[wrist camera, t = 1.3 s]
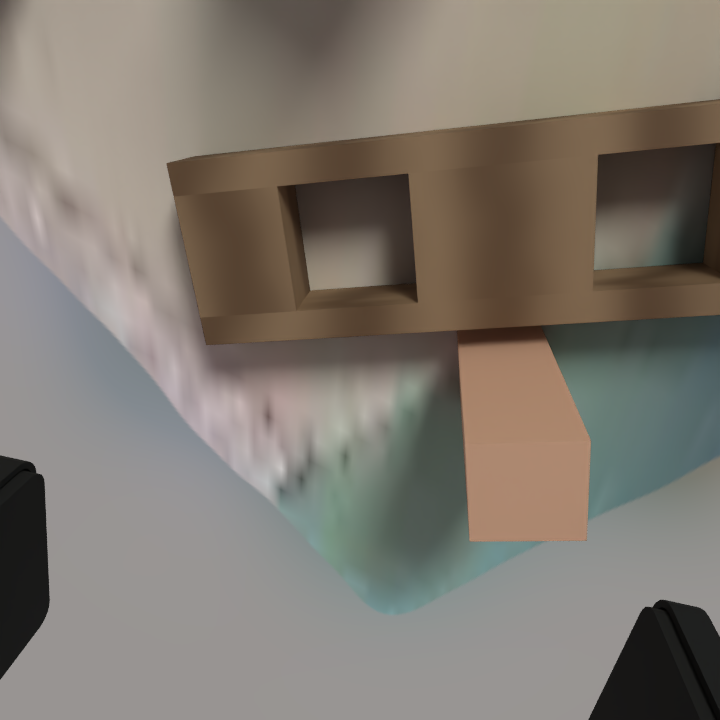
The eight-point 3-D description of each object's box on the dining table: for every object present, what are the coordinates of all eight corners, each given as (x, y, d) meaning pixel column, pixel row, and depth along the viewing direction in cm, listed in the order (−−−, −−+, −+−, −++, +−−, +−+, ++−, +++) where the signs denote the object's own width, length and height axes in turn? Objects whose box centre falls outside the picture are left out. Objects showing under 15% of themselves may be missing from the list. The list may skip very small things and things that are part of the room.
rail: (844, 85, 27) (898, 84, 24) (808, 284, 30) (852, 307, 27) (194, 156, 31) (166, 163, 28) (227, 322, 35) (206, 345, 32)
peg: (540, 325, 33) (590, 440, 22) (539, 398, 34) (586, 540, 23) (457, 330, 33) (464, 444, 22) (460, 402, 35) (469, 541, 24)
